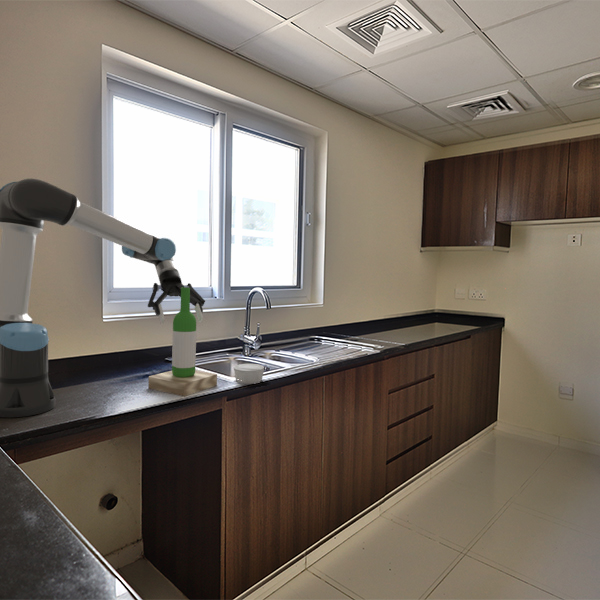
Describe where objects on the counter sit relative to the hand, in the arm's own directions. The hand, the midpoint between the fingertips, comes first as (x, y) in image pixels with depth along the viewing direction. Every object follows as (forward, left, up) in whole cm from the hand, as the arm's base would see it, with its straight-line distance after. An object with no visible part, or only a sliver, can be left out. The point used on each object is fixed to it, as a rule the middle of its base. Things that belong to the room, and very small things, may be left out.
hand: (182, 321), depth 150 cm
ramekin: (+18, -16, -23) cm, 33 cm away
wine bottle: (-2, -3, -18) cm, 19 cm away
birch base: (-2, -3, -22) cm, 23 cm away
